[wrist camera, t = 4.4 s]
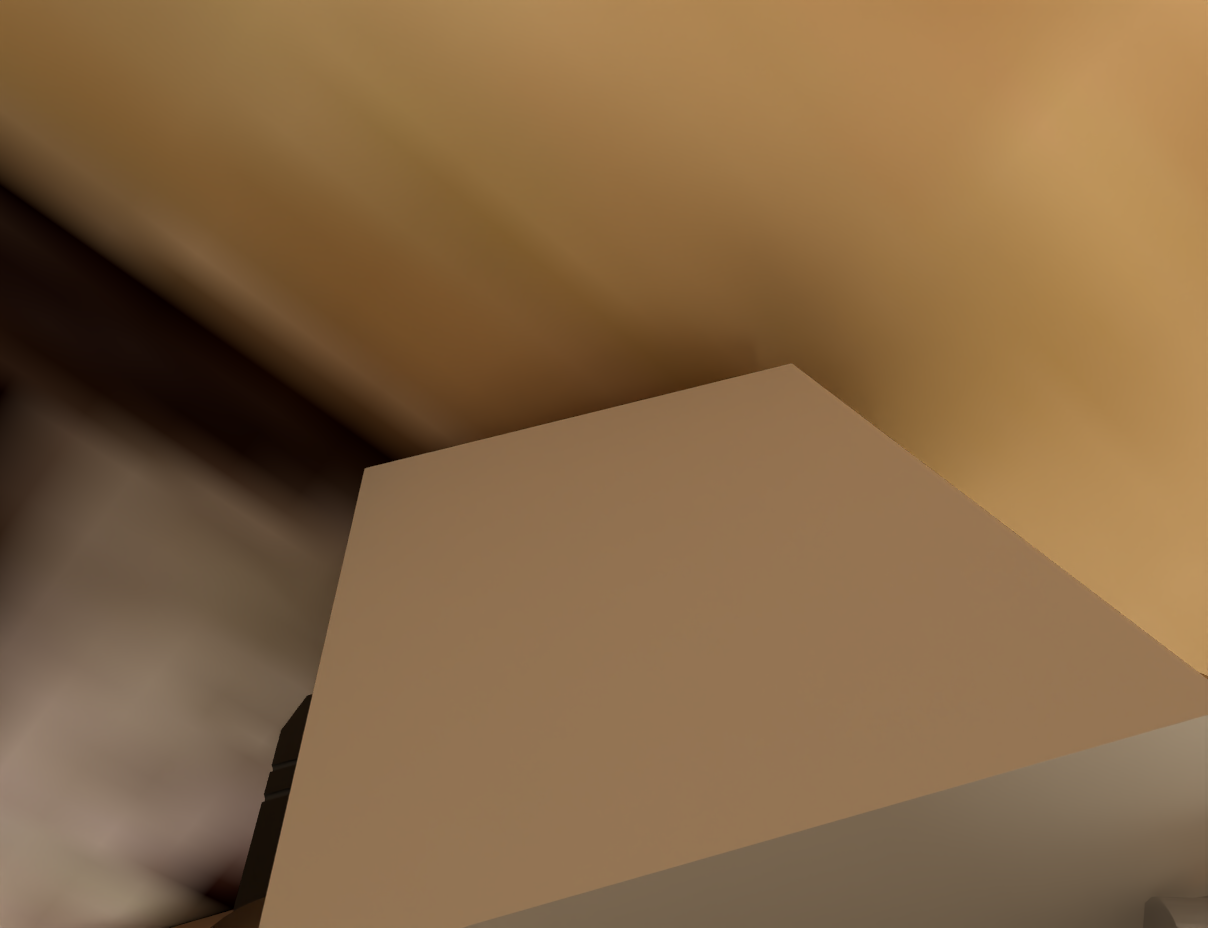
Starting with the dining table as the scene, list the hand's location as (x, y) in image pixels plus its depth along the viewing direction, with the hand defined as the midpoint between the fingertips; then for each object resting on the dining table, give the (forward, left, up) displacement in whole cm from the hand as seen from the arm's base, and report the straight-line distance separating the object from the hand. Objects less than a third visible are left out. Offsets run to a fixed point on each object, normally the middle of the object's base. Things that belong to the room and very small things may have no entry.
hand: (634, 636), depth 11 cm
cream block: (0, 0, -1) cm, 1 cm away
